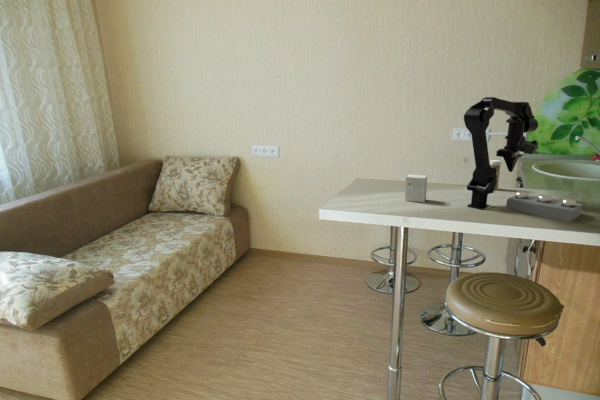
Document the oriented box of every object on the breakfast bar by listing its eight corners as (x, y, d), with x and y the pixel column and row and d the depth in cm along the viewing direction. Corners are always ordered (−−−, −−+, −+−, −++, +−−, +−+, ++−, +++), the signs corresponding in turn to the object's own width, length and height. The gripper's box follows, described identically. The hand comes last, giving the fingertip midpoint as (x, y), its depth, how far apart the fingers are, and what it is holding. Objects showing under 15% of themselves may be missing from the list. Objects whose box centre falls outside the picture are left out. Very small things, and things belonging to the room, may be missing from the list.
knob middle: (547, 210, 151) (549, 198, 149) (534, 208, 154) (536, 196, 153) (551, 208, 154) (553, 196, 152) (538, 206, 157) (540, 194, 155)
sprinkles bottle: (499, 189, 188) (503, 160, 184) (494, 190, 185) (497, 161, 182) (490, 187, 191) (493, 159, 188) (485, 188, 189) (488, 160, 185)
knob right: (572, 215, 145) (574, 202, 144) (558, 213, 148) (560, 200, 147) (575, 212, 148) (578, 200, 147) (562, 210, 151) (564, 198, 150)
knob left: (524, 206, 157) (525, 194, 155) (512, 204, 160) (513, 192, 158) (528, 204, 159) (530, 192, 158) (516, 202, 162) (518, 190, 161)
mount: (570, 221, 142) (572, 210, 141) (505, 209, 158) (507, 199, 157) (580, 214, 150) (582, 204, 149) (517, 202, 166) (519, 193, 165)
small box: (426, 199, 173) (427, 175, 170) (424, 202, 168) (425, 178, 166) (407, 197, 177) (408, 173, 174) (404, 200, 172) (405, 176, 169)
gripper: (528, 137, 151) (522, 178, 156) (545, 133, 164) (540, 171, 168) (497, 135, 159) (493, 174, 164) (516, 131, 172) (511, 167, 176)
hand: (510, 171), depth 167 cm, fingers closed
